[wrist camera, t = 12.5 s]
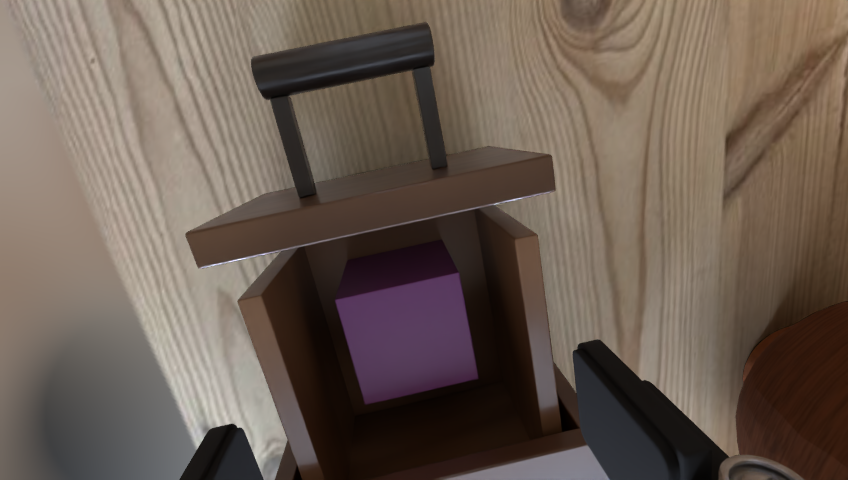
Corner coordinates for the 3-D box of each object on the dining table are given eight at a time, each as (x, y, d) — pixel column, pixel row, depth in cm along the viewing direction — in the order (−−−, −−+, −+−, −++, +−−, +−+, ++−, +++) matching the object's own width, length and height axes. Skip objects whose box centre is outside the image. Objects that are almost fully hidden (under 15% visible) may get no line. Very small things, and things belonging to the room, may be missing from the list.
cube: (369, 344, 21) (364, 405, 16) (346, 259, 19) (334, 299, 15) (459, 324, 21) (479, 379, 16) (442, 238, 19) (459, 272, 15)
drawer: (229, 88, 18) (115, 57, 10) (473, 39, 18) (533, -27, 11) (334, 419, 23) (308, 558, 15) (524, 375, 23) (589, 490, 16)
